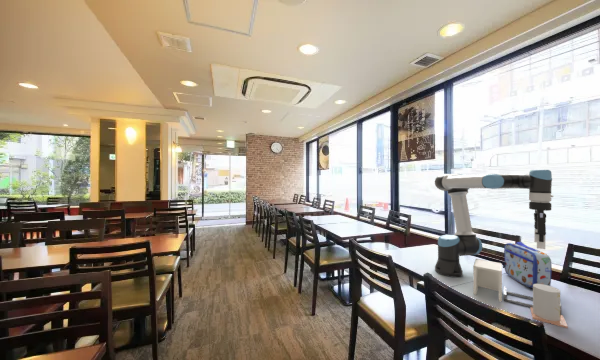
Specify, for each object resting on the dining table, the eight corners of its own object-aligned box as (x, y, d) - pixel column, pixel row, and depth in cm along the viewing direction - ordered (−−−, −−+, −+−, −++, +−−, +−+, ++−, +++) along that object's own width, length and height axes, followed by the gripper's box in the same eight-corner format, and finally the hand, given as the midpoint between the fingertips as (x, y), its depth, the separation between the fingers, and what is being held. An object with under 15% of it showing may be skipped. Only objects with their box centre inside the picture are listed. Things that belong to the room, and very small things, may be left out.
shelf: (473, 294, 122) (473, 265, 122) (475, 284, 133) (475, 258, 133) (501, 301, 114) (501, 271, 114) (501, 291, 125) (501, 263, 125)
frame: (503, 300, 115) (503, 292, 115) (503, 292, 123) (503, 284, 123) (561, 315, 103) (561, 305, 103) (556, 304, 111) (556, 296, 111)
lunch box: (499, 272, 151) (499, 238, 151) (517, 273, 149) (517, 238, 149) (532, 292, 124) (531, 250, 124) (555, 293, 122) (555, 251, 122)
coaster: (532, 318, 100) (532, 316, 100) (530, 308, 108) (530, 307, 108) (567, 328, 94) (567, 326, 94) (562, 317, 101) (562, 315, 101)
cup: (563, 323, 96) (563, 294, 96) (536, 317, 100) (536, 289, 100) (555, 313, 102) (556, 286, 102) (530, 308, 107) (530, 282, 107)
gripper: (555, 204, 101) (554, 253, 101) (548, 200, 119) (547, 241, 120) (530, 203, 106) (530, 249, 106) (527, 199, 124) (527, 238, 125)
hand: (539, 245), depth 113 cm, fingers open, 13 cm apart
